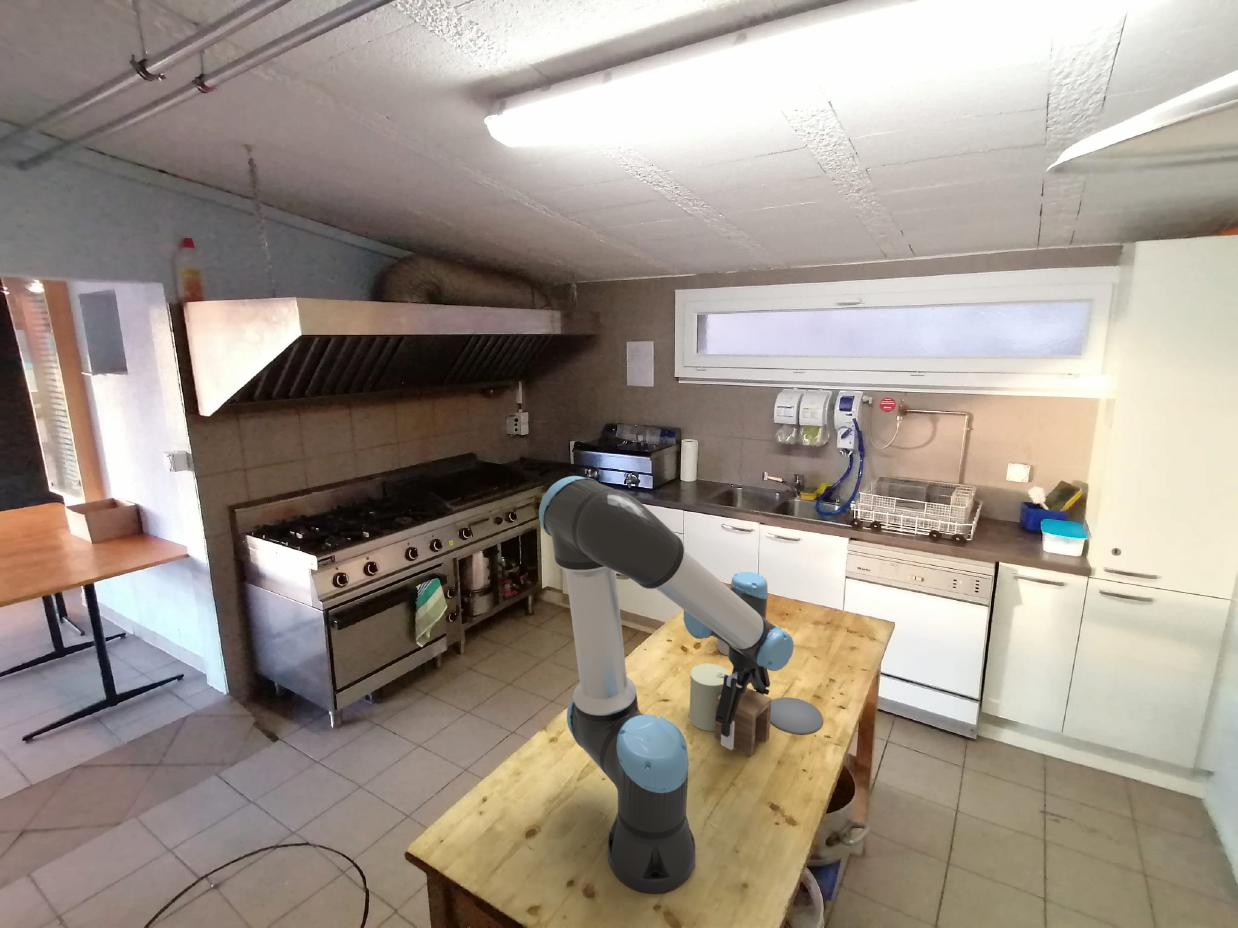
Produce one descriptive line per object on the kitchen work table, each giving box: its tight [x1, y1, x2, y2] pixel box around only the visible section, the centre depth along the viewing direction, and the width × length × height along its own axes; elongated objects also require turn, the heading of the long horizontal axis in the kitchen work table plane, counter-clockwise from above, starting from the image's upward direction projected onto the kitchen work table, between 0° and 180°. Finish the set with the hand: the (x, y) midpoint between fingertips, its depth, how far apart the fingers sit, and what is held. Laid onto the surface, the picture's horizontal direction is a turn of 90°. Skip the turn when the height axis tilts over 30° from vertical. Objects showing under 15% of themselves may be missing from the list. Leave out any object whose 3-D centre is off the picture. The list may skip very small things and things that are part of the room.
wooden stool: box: [714, 685, 772, 757], centre depth 131 cm, size 8×9×10 cm
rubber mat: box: [770, 696, 824, 735], centre depth 139 cm, size 13×13×1 cm
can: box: [688, 663, 731, 732], centre depth 137 cm, size 9×9×12 cm
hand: (742, 732), depth 131 cm, fingers open, 12 cm apart
